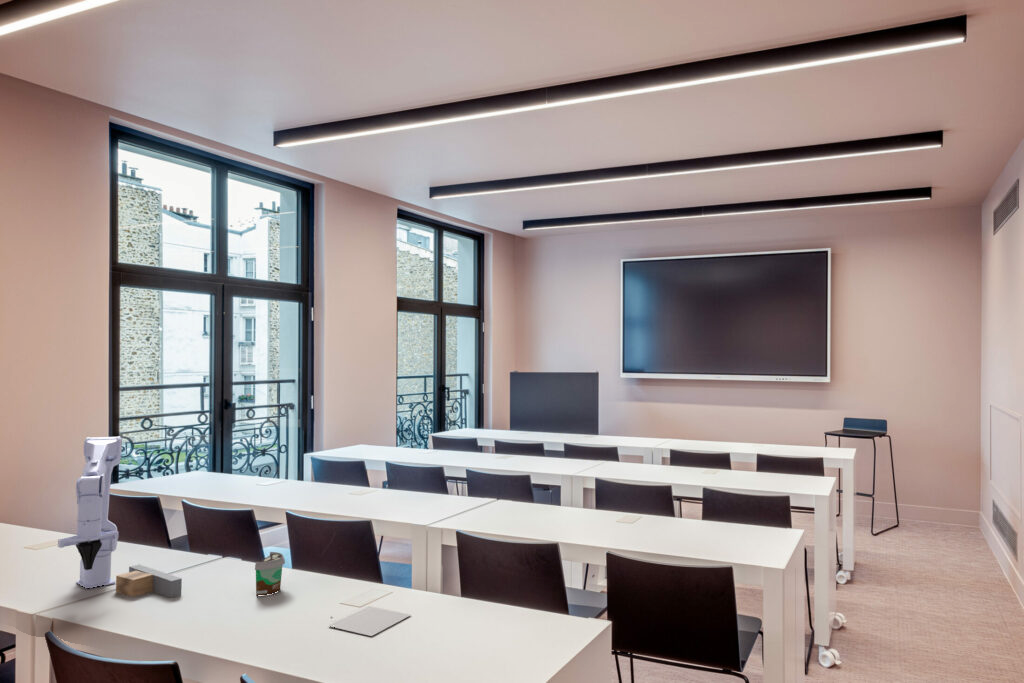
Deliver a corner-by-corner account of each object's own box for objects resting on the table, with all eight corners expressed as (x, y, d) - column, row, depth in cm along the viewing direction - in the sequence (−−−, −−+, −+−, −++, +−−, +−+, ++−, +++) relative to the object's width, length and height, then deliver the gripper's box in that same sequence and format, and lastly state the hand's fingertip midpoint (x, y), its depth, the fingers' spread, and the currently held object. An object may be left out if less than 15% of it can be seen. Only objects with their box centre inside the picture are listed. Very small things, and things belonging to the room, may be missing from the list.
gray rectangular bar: (128, 583, 212) (129, 566, 212) (138, 580, 214) (139, 564, 214) (171, 598, 198) (171, 581, 198) (181, 596, 200) (181, 578, 201)
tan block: (115, 593, 202) (116, 575, 202) (135, 587, 207) (135, 570, 208) (133, 597, 198) (133, 579, 199) (152, 591, 204) (153, 574, 204)
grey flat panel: (299, 622, 181) (299, 619, 181) (361, 594, 203) (361, 592, 203) (371, 638, 170) (371, 635, 170) (428, 608, 192) (428, 605, 192)
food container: (275, 598, 198) (276, 563, 199) (254, 598, 198) (254, 562, 199) (290, 585, 210) (291, 551, 211) (270, 584, 211) (270, 551, 211)
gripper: (64, 525, 186) (62, 577, 185) (123, 517, 196) (121, 566, 196) (56, 521, 190) (54, 572, 190) (113, 513, 201) (112, 561, 201)
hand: (87, 569), depth 193 cm, fingers closed
